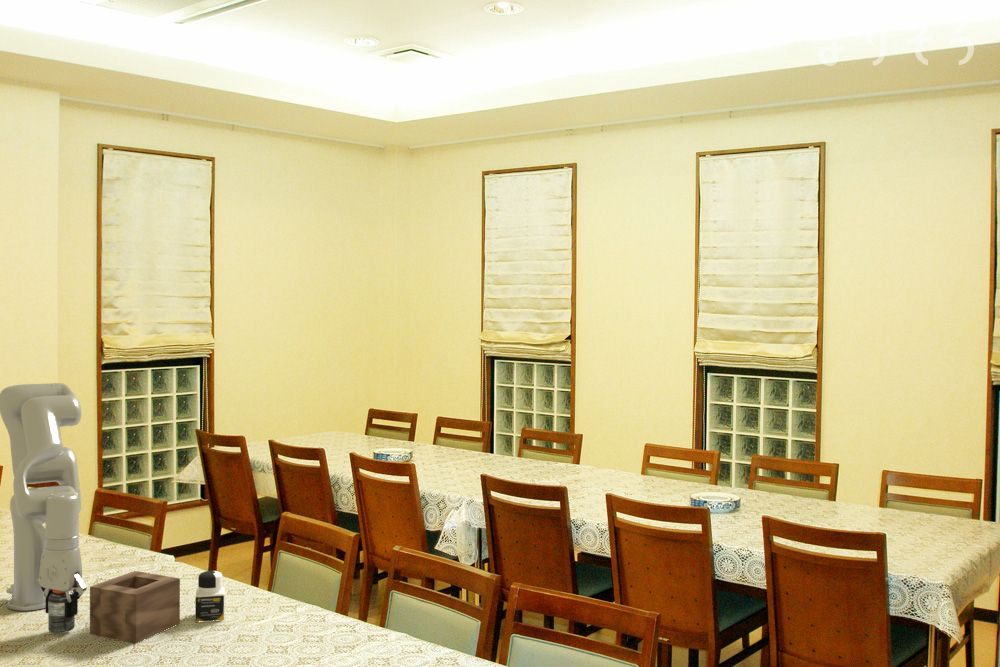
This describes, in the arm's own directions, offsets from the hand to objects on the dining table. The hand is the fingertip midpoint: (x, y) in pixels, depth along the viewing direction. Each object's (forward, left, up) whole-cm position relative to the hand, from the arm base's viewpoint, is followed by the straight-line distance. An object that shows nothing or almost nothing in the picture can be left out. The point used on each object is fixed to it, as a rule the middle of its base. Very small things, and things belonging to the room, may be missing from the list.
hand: (61, 613), depth 233 cm
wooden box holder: (+15, +10, -5) cm, 18 cm away
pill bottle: (0, 0, -4) cm, 4 cm away
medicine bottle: (+26, +25, -5) cm, 36 cm away
